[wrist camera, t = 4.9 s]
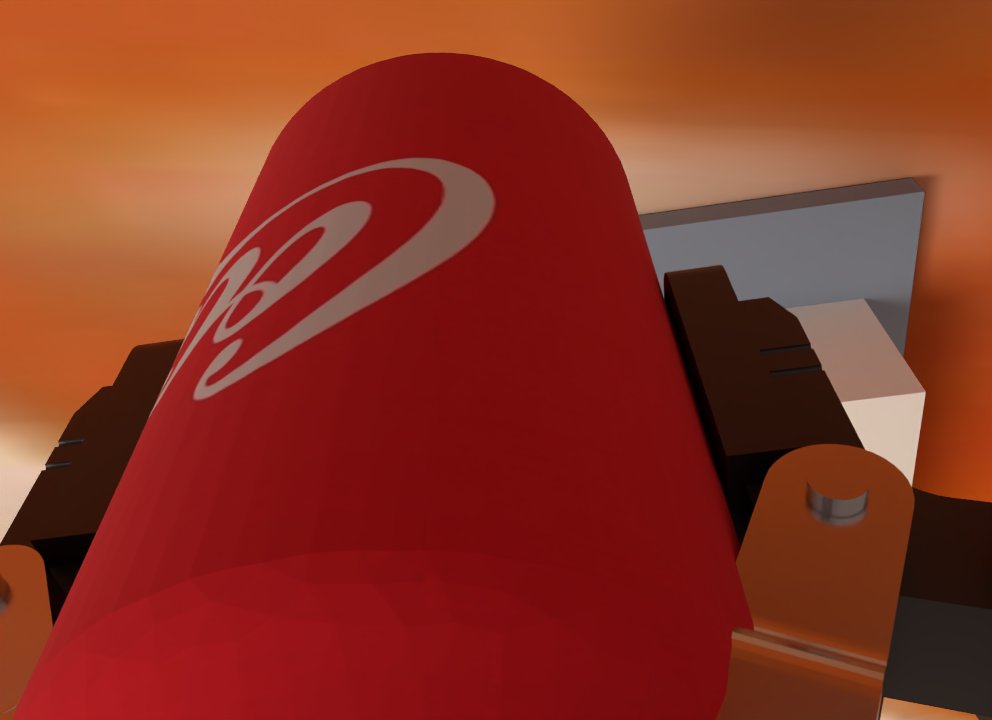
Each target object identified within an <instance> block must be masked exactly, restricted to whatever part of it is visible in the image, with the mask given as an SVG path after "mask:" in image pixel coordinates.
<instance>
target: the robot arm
mask: <svg viewBox="0 0 992 720" xmlns="http://www.w3.org/2000/svg"><path fill="white" fill-rule="evenodd" d="M664 300H665V303H666V307H667V310H668V313H669V316H670V320H671V323H672V326H673V329H674V333H675V336H676V339H677V342H678V346H679V349H680V352H681V355H682V359H683V362H684V365H685V368H686V372H687V375H688V378H689V381H690V385H691V388H692V391H693V394H694V398H695V401H696V404H697V407H698V411H699V414H700V417H701V420H702V424H703V427H704V430H705V433H706V437H707V440H708V443H709V446H710V450H711V453H712V456H713V459H714V463H715V466H716V469H717V472H718V476H719V479H720V482H721V485H722V489H723V492H724V495H725V498H726V502H727V505H728V508H729V511H730V514H731V518H732V521H733V524H734V527H735V531H736V534H737V537H738V540H739V544H740V547H741V548H740V551H739V554H738V557H737V560H736V566H737V569H738V572H739V576H740V579H741V582H742V586H743V589H744V593H745V596H746V599H747V603H748V606H749V610H750V613H751V616H752V620H753V625H754V631H753V630H749V629H745V628H742V627H737V628H735V629H734V630H733V632H732V650H731V656H730V664H729V673H728V682H727V690H726V696H725V698H724V701H723V703H722V706H721V708H720V711H719V713H718V716H717V718H716V720H880V717H881V711H882V705H883V700H884V697H887V698H892V699H897V700H902V701H908V702H913V703H918V704H924V705H929V706H934V707H939V708H945V709H950V710H955V711H961V712H966V713H971V714H976V716H977V717H978V719H979V720H992V503H991V502H983V501H974V500H965V499H957V498H950V497H944V496H938V495H935V494H931V493H927V492H924V491H921V490H918V489H915V488H913V487H911V485H910V483H909V481H908V479H907V478H906V477H905V475H904V474H903V473H902V472H901V471H900V470H899V469H898V468H897V467H896V466H895V465H894V464H892V463H891V462H889V461H888V460H886V459H885V458H883V457H881V456H879V455H877V454H875V453H873V452H870V451H867V450H865V448H864V446H863V444H862V442H861V440H860V438H859V436H858V434H857V433H856V431H855V429H854V427H853V425H852V423H851V421H850V419H849V417H848V415H847V413H846V411H845V409H844V407H843V405H842V403H841V401H840V399H839V397H838V396H837V394H836V392H835V390H834V388H833V386H832V384H831V382H830V380H829V378H828V376H827V374H826V372H825V370H822V364H821V362H820V361H819V359H818V357H817V355H816V353H815V351H814V349H811V343H810V341H809V339H808V337H807V335H806V333H805V331H804V329H803V327H802V325H801V324H800V322H799V320H798V318H797V317H796V316H795V315H793V314H792V313H791V312H789V311H788V310H786V309H785V308H784V307H782V306H781V305H779V304H778V303H777V302H775V301H774V300H773V299H771V298H770V297H765V298H758V299H750V300H743V301H738V299H737V296H736V294H735V292H734V289H733V287H732V285H731V282H730V280H729V278H728V275H727V273H726V271H725V269H724V267H723V266H722V265H715V266H708V267H701V268H694V269H687V270H680V271H672V272H665V273H664ZM183 341H184V339H180V340H173V341H166V342H159V343H152V344H144V345H138V346H136V347H134V348H133V349H132V351H131V352H130V354H129V356H128V358H127V360H126V362H125V363H124V365H123V367H122V369H121V371H120V373H119V375H118V377H117V378H116V380H115V382H114V384H113V386H107V387H102V388H101V389H100V390H99V391H98V392H97V393H96V394H95V395H94V396H93V397H92V398H90V399H89V400H88V401H87V402H86V403H85V404H84V405H83V406H82V407H81V408H80V409H79V410H78V411H76V412H75V413H74V415H73V417H72V418H71V420H70V422H69V424H68V425H67V427H66V429H65V431H64V432H63V434H62V436H61V438H60V439H59V441H58V442H59V447H55V448H54V450H53V452H52V454H51V455H50V457H49V459H48V461H47V462H46V464H45V465H46V470H43V471H41V473H40V475H39V477H38V478H37V480H36V482H35V484H34V485H33V487H32V489H31V491H30V492H29V494H28V496H27V498H26V499H25V501H24V503H23V505H22V507H21V508H20V510H19V512H18V514H17V515H16V517H15V519H14V521H13V522H12V524H11V526H10V528H9V529H8V531H7V533H6V535H5V537H4V538H3V540H2V542H1V544H0V720H12V719H13V716H14V714H15V711H16V709H17V706H18V704H19V701H20V699H21V697H22V695H23V693H24V690H25V688H26V686H27V684H28V682H29V679H30V677H31V675H32V673H33V671H34V669H35V666H36V664H37V662H38V660H39V658H40V655H41V653H42V651H43V649H44V647H45V644H46V642H47V640H48V638H49V636H50V633H51V631H52V629H53V627H54V625H55V622H56V620H57V618H58V616H59V614H60V611H61V609H62V607H63V605H64V603H65V600H66V598H67V596H68V594H69V592H70V589H71V587H72V585H73V583H74V581H75V579H76V576H77V574H78V572H79V570H80V568H81V565H82V563H83V561H84V559H85V557H86V554H87V552H88V550H89V548H90V546H91V543H92V541H93V539H94V537H95V535H96V532H97V530H98V528H99V526H100V524H101V521H102V519H103V517H104V515H105V513H106V510H107V508H108V506H109V504H110V502H111V499H112V497H113V495H114V493H115V491H116V489H117V486H118V484H119V482H120V480H121V478H122V475H123V473H124V471H125V469H126V467H127V464H128V462H129V460H130V458H131V456H132V453H133V451H134V449H135V447H136V445H137V442H138V440H139V438H140V436H141V434H142V431H143V429H144V427H145V425H146V423H147V420H148V418H149V416H150V414H151V412H152V410H153V407H154V405H155V403H156V401H157V399H158V396H159V394H160V392H161V390H162V388H163V385H164V383H165V381H166V379H167V377H168V374H169V372H170V370H171V368H172V366H173V363H174V361H175V359H176V357H177V355H178V352H179V350H180V348H181V346H182V344H183Z"/></svg>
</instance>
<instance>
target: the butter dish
mask: <svg viewBox="0 0 992 720" xmlns="http://www.w3.org/2000/svg"><path fill="white" fill-rule="evenodd" d="M924 193H925V191H924V190H923V189H922V188H921V187H920V186H919V185H918V184H917V183H916V182H915V181H914V180H913V179H912V178H907V179H900V180H892V181H885V182H878V183H871V184H863V185H856V186H849V187H842V188H835V189H827V190H820V191H813V192H806V193H798V194H791V195H784V196H777V197H769V198H762V199H755V200H748V201H741V202H733V203H726V204H719V205H712V206H704V207H697V208H690V209H683V210H676V211H668V212H661V213H654V214H647V215H639V219H640V222H641V225H642V229H643V232H644V235H645V238H646V242H647V245H648V248H649V251H650V255H651V258H652V261H653V264H654V268H655V271H656V274H657V277H658V281H659V284H660V287H661V290H662V294H663V297H664V273H665V272H672V271H680V270H687V269H694V268H701V267H708V266H715V265H722V266H723V267H724V269H725V271H726V273H727V275H728V278H729V280H730V282H731V285H732V287H733V289H734V292H735V294H736V296H737V299H738V301H743V300H750V299H758V298H765V297H770V298H771V299H773V300H774V301H775V302H777V303H778V304H779V305H781V306H782V307H784V308H785V309H786V310H788V311H789V312H791V313H792V314H793V315H795V316H796V317H797V318H798V320H799V322H800V324H801V325H802V327H803V329H804V331H805V333H806V335H807V337H808V339H809V341H810V343H811V349H814V351H815V353H816V355H817V357H818V359H819V361H820V362H821V364H822V370H825V372H826V374H827V376H828V378H829V380H830V382H831V384H832V386H833V388H834V390H835V392H836V394H837V396H838V397H839V399H840V401H841V403H842V405H843V407H844V409H845V411H846V413H847V415H848V417H849V419H850V421H851V423H852V425H853V427H854V429H855V431H856V433H857V434H858V436H859V438H860V440H861V442H862V444H863V446H864V448H865V450H867V451H870V452H873V453H875V454H877V455H879V456H881V457H883V458H885V459H886V460H888V461H889V462H891V463H892V464H894V465H895V466H896V467H897V468H898V469H899V470H900V471H901V472H902V473H903V474H904V475H905V477H906V478H907V479H908V481H909V483H910V485H911V487H912V481H913V475H914V468H915V461H916V454H917V448H918V441H919V434H920V428H921V421H922V414H923V407H924V401H925V394H926V391H925V390H924V388H923V387H922V385H921V384H920V382H919V381H918V379H917V378H916V376H915V375H914V373H913V372H912V370H911V369H910V367H909V366H908V364H907V363H906V361H905V360H904V350H905V342H906V334H907V326H908V318H909V311H910V303H911V295H912V287H913V279H914V271H915V264H916V256H917V248H918V240H919V232H920V224H921V217H922V209H923V201H924Z"/></svg>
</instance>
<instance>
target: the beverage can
mask: <svg viewBox="0 0 992 720" xmlns="http://www.w3.org/2000/svg"><path fill="white" fill-rule="evenodd" d="M740 548H741V547H740V544H739V540H738V537H737V534H736V531H735V527H734V524H733V521H732V518H731V514H730V511H729V508H728V505H727V502H726V498H725V495H724V492H723V489H722V485H721V482H720V479H719V476H718V472H717V469H716V466H715V463H714V459H713V456H712V453H711V450H710V446H709V443H708V440H707V437H706V433H705V430H704V427H703V424H702V420H701V417H700V414H699V411H698V407H697V404H696V401H695V398H694V394H693V391H692V388H691V385H690V381H689V378H688V375H687V372H686V368H685V365H684V362H683V359H682V355H681V352H680V349H679V346H678V342H677V339H676V336H675V333H674V329H673V326H672V323H671V320H670V316H669V313H668V310H667V307H666V303H665V300H664V297H663V294H662V290H661V287H660V284H659V281H658V277H657V274H656V271H655V268H654V264H653V261H652V258H651V255H650V251H649V248H648V245H647V242H646V238H645V235H644V232H643V229H642V225H641V222H640V219H639V216H638V212H637V209H636V206H635V203H634V199H633V196H632V193H631V190H630V186H629V183H628V180H627V177H626V174H625V171H624V169H623V166H622V164H621V161H620V159H619V157H618V156H617V154H616V152H615V150H614V148H613V146H612V144H611V143H610V141H609V140H608V138H607V137H606V135H605V134H604V132H603V131H602V130H601V128H600V127H599V126H598V125H597V123H596V122H595V121H594V120H593V119H592V118H591V117H590V116H589V115H588V114H587V113H586V111H585V110H584V109H583V108H581V107H580V106H579V105H578V104H577V103H576V102H575V101H574V100H572V99H571V98H570V97H569V96H567V95H566V94H565V93H563V92H562V91H561V90H559V89H558V88H556V87H555V86H553V85H552V84H550V83H548V82H546V81H545V80H543V79H541V78H539V77H538V76H536V75H534V74H532V73H530V72H528V71H525V70H523V69H521V68H518V67H515V66H513V65H510V64H507V63H503V62H500V61H497V60H493V59H490V58H484V57H479V56H474V55H468V54H456V53H423V54H412V55H406V56H400V57H396V58H392V59H388V60H384V61H380V62H377V63H374V64H371V65H368V66H366V67H363V68H360V69H358V70H356V71H354V72H352V73H350V74H348V75H346V76H344V77H342V78H340V79H339V80H337V81H335V82H334V83H332V84H330V85H329V86H327V87H326V88H324V89H323V90H321V91H320V92H319V93H317V94H316V95H315V96H314V97H313V98H311V99H310V100H309V101H308V102H307V103H306V104H305V105H304V106H303V107H302V108H301V109H300V110H299V111H298V112H297V113H296V114H295V115H294V116H293V117H292V118H291V120H290V121H289V122H288V124H287V125H286V126H285V128H284V129H283V130H282V132H281V133H280V135H279V136H278V138H277V140H276V141H275V143H274V145H273V146H272V148H271V150H270V153H269V155H268V157H267V159H266V161H265V164H264V166H263V168H262V170H261V172H260V175H259V177H258V179H257V181H256V183H255V186H254V188H253V190H252V192H251V194H250V197H249V199H248V201H247V203H246V205H245V208H244V210H243V212H242V214H241V216H240V219H239V221H238V223H237V225H236V227H235V230H234V232H233V234H232V236H231V238H230V240H229V243H228V245H227V247H226V249H225V251H224V254H223V256H222V258H221V260H220V262H219V265H218V267H217V269H216V271H215V273H214V276H213V278H212V280H211V282H210V284H209V287H208V289H207V291H206V293H205V295H204V298H203V300H202V302H201V304H200V306H199V309H198V311H197V313H196V315H195V317H194V320H193V322H192V324H191V326H190V328H189V330H188V333H187V335H186V337H185V339H184V341H183V344H182V346H181V348H180V350H179V352H178V355H177V357H176V359H175V361H174V363H173V366H172V368H171V370H170V372H169V374H168V377H167V379H166V381H165V383H164V385H163V388H162V390H161V392H160V394H159V396H158V399H157V401H156V403H155V405H154V407H153V410H152V412H151V414H150V416H149V418H148V420H147V423H146V425H145V427H144V429H143V431H142V434H141V436H140V438H139V440H138V442H137V445H136V447H135V449H134V451H133V453H132V456H131V458H130V460H129V462H128V464H127V467H126V469H125V471H124V473H123V475H122V478H121V480H120V482H119V484H118V486H117V489H116V491H115V493H114V495H113V497H112V499H111V502H110V504H109V506H108V508H107V510H106V513H105V515H104V517H103V519H102V521H101V524H100V526H99V528H98V530H97V532H96V535H95V537H94V539H93V541H92V543H91V546H90V548H89V550H88V552H87V554H86V557H85V559H84V561H83V563H82V565H81V568H80V570H79V572H78V574H77V576H76V579H75V581H74V583H73V585H72V587H71V589H70V592H69V594H68V596H67V598H66V600H65V603H64V605H63V607H62V609H61V611H60V614H59V616H58V618H57V620H56V622H55V625H54V627H53V629H52V631H51V633H50V636H49V638H48V640H47V642H46V644H45V647H44V649H43V651H42V653H41V655H40V658H39V660H38V662H37V664H36V666H35V669H34V671H33V673H32V675H31V677H30V679H29V682H28V684H27V686H26V688H25V690H24V693H23V695H22V697H21V699H20V701H19V704H18V706H17V709H16V711H15V714H14V716H13V719H12V720H716V718H717V716H718V713H719V711H720V708H721V706H722V703H723V701H724V698H725V696H726V690H727V682H728V673H729V664H730V656H731V650H732V632H733V630H734V629H735V628H737V627H742V628H745V629H749V630H753V631H754V625H753V620H752V616H751V613H750V610H749V606H748V603H747V599H746V596H745V593H744V589H743V586H742V582H741V579H740V576H739V572H738V569H737V566H736V560H737V557H738V554H739V551H740Z"/></svg>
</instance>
